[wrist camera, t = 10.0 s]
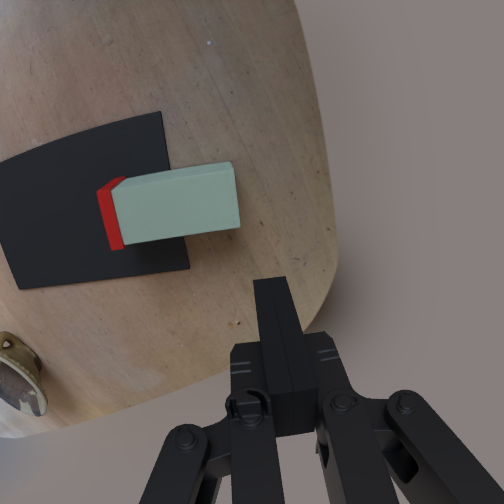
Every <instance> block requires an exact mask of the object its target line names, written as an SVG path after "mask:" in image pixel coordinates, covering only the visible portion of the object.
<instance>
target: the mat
mask: <svg viewBox="0 0 504 504" xmlns="http://www.w3.org/2000/svg"><path fill="white" fill-rule="evenodd" d="M169 170H170V165H169V159H168V153H167V147H166V141H165V135H164V128H163V122H162V115H161V111H158V112H154V113H149V114H145V115H141V116H136V117H132V118H128V119H124V120H120V121H117V122H113V123H109V124H106V125H102V126H99V127H95V128H92V129H89V130H85V131H82V132H79V133H76V134H73V135H70V136H67V137H64V138H61V139H58V140H55V141H53V142H50V143H47V144H44V145H42V146H39V147H36V148H34V149H31V150H29V151H26V152H24V153H21V154H19V155H17V156H14V157H12V158H10V159H7V160H5V161H3V162H1V163H0V243H1V246H2V248H3V251H4V254H5V256H6V259H7V262H8V264H9V267H10V269H11V272H12V274H13V277H14V279H15V281H16V284H17V286H18V288H19V290H20V289H29V288H37V287H46V286H55V285H63V284H71V283H80V282H88V281H96V280H104V279H113V278H121V277H129V276H137V275H145V274H153V273H161V272H169V271H176V270H184V269H190V265H189V261H188V256H187V252H186V247H185V242H184V238H183V236H178V237H171V238H165V239H159V240H152V241H146V242H140V243H134V244H128V245H126V246H125V248H124V249H119V250H113V251H112V250H111V247H110V243H109V240H108V236H107V233H106V229H105V225H104V221H103V217H102V213H101V209H100V205H99V201H98V197H97V191H98V190H99V189H101V188H102V187H103V186H105V185H106V184H108V183H109V182H110V181H112V180H113V179H114V178H118V177H123V176H126V179H127V178H132V177H137V176H142V175H147V174H152V173H158V172H163V171H169Z"/></svg>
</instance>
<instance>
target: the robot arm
mask: <svg viewBox="0 0 504 504" xmlns="http://www.w3.org/2000/svg"><path fill="white" fill-rule="evenodd" d="M253 285H254V294H255V303H256V311H257V320H258V329H259V336H260V341H257V342H248V343H239V344H235V345H234V347H233V349H232V351H231V353H230V365H231V366H230V372H231V394H230V395H229V396H228V398H227V399H226V403H225V408H226V411H227V416H226V417H225V418H224V419H222V420H221V421H220V422H218V423H215V424H213V425H210V426H207V427H204V428H201V427H199V426H196V425H194V424H183V425H180V426H177V427H175V428H174V429H172V430H171V431H170V432H169V434H168V435H167V437H166V439H165V441H164V444H163V446H162V449H161V451H160V454H159V456H158V458H157V461H156V463H155V466H154V468H153V471H152V473H151V475H150V478H149V480H148V483H147V485H146V488H145V490H144V493H143V495H142V497H141V500H140V502H139V504H215V502H216V498H217V495H218V491H219V488H220V484H221V480H222V477H224V476H227V475H230V474H231V486H232V504H285V501H284V493H283V487H282V480H281V472H280V466H279V459H278V452H277V444H276V437H284V436H291V435H297V434H303V433H309V432H314V430H315V428H316V432H317V444H316V454H317V453H319V456H320V461H321V465H322V469H323V474H324V478H325V483H326V487H327V492H328V496H329V500H330V504H399V501H398V498H397V495H396V492H395V489H394V486H393V483H392V480H391V477H392V479H393V480H394V481H395V483H396V484H397V486H398V487H399V489H400V490H401V491H402V493H403V494H404V496H405V497H406V498H407V500H408V501H409V503H410V504H504V491H503V490H502V488H501V487H500V486H499V485H498V484H497V482H496V481H495V480H494V479H493V478H492V476H491V475H490V474H489V473H488V472H487V471H486V469H485V468H484V467H483V466H482V465H481V463H479V461H478V460H477V459H476V458H475V456H474V455H473V454H472V453H471V452H470V451H469V450H468V448H467V447H466V446H465V445H464V444H463V443H462V442H461V440H460V439H459V438H458V437H457V436H456V435H455V433H454V432H453V431H452V430H451V429H450V428H449V427H448V426H447V425H446V423H445V422H444V421H443V420H442V419H441V418H440V417H439V416H438V414H437V413H436V412H435V411H434V410H433V409H432V408H431V406H430V405H429V404H428V403H427V402H426V401H425V400H424V399H423V398H422V396H420V395H419V394H418V393H416V392H414V391H411V390H400V391H397V392H395V393H394V394H392V395H391V396H390V397H389V399H371V398H365V397H363V396H361V395H359V394H358V393H356V392H355V391H354V390H353V388H352V386H351V384H350V382H349V379H348V376H347V374H346V372H345V369H344V366H343V364H342V361H341V359H340V357H339V354H338V351H337V349H336V346H335V343H334V341H333V339H332V338H331V337H330V336H329V335H328V334H327V333H326V332H325V331H323V332H317V333H310V334H304V335H303V332H302V329H301V325H300V322H299V319H298V315H297V312H296V309H295V306H294V302H293V299H292V296H291V293H290V289H289V286H288V283H287V280H286V276H283V277H275V278H267V279H258V280H253ZM390 476H391V477H390Z"/></svg>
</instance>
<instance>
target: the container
mask: <svg viewBox="0 0 504 504" xmlns="http://www.w3.org/2000/svg"><path fill="white" fill-rule="evenodd" d="M97 197H98V201H99V205H100V209H101V213H102V217H103V221H104V225H105V229H106V233H107V236H108V240H109V243H110V247H111V250H112V251H113V250H119V249H124V248H125V246H126V245H128V244H134V243H140V242H146V241H152V240H159V239H165V238H171V237H178V236H184V235H191V234H198V233H204V232H211V231H218V230H225V229H232V228H239V227H241V226H240V217H239V209H238V200H237V192H236V183H235V175H234V169H233V167H232V165H231V162H230V161H228V162H221V163H213V164H206V165H200V166H193V167H187V168H181V169H175V170H169V171H163V172H158V173H152V174H147V175H142V176H137V177H132V178H127V179H126V176H123V177H118V178H114V179H113V180H112V181H110V182H109V183H108V184H106V185H105V186H103V187H102V188H101V189H99V190H98V191H97Z"/></svg>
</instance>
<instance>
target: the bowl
mask: <svg viewBox="0 0 504 504" xmlns="http://www.w3.org/2000/svg"><path fill="white" fill-rule="evenodd" d="M5 341H7V342H8V343H9V344H10V346H8V347H3V344H4V342H5ZM40 369H41V364H40V361H39V359H38V358H37V356H36V355H35V353H34V352H33V351H32V350H31V349H30V348H29V347H27V346H26V345H24V344H22V342H20V341H19V340H18V338H17V337H15V336H14V335H13V334H11V333H9V332H5V331H4V332H1V333H0V398H2V399H3V400H4V401H5V402H7V403H8V404H10V405H11V406H13V407H14V408H16V409H18V410H19V411H22V412H24V413H26V414H29V415H32V416H43V415H45V414H46V412H47V405H48V401H47V395H46V393H45V391H44V389H43V387H42V385H41V380H40V374H39V372H40Z"/></svg>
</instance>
